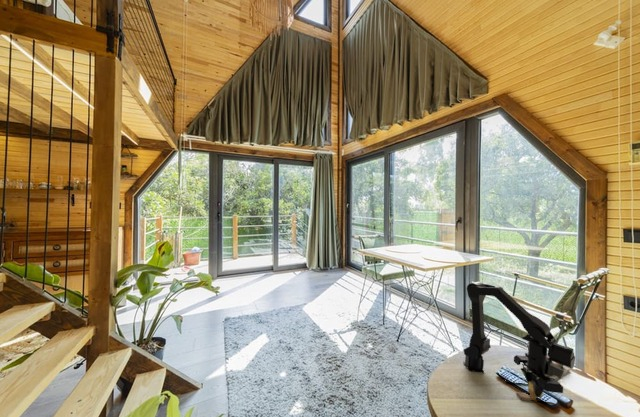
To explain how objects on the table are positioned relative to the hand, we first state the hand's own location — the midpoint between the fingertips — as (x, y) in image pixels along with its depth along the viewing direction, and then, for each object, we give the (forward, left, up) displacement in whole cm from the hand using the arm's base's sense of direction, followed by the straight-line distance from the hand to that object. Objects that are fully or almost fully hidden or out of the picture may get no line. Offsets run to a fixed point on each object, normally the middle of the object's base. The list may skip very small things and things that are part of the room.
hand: (535, 393), depth 103 cm
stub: (0, 0, -2) cm, 2 cm away
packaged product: (+20, +21, -3) cm, 29 cm away
